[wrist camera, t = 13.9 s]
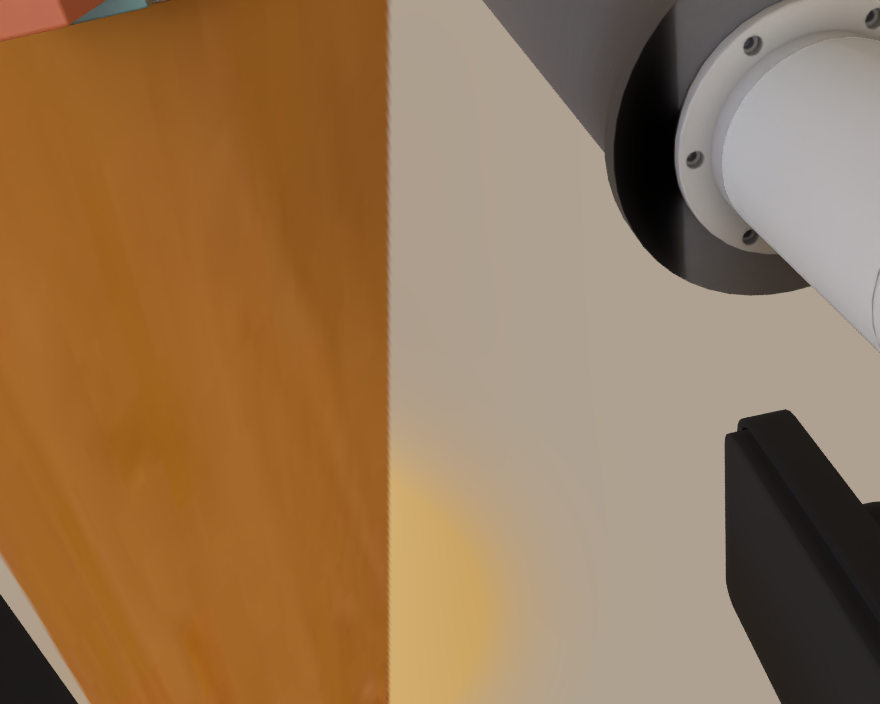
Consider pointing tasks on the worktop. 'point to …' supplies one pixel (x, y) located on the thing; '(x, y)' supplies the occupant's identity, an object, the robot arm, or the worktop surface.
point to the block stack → (115, 8)
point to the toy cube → (40, 15)
